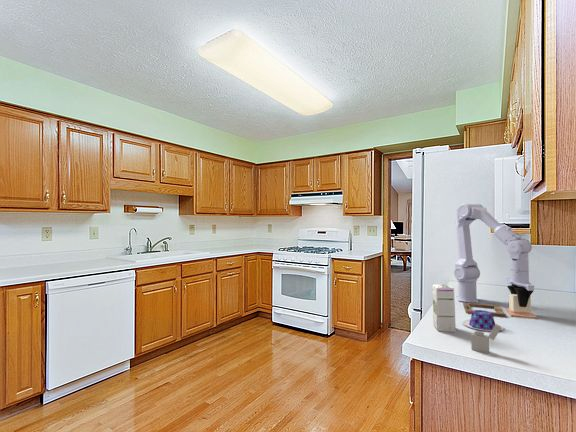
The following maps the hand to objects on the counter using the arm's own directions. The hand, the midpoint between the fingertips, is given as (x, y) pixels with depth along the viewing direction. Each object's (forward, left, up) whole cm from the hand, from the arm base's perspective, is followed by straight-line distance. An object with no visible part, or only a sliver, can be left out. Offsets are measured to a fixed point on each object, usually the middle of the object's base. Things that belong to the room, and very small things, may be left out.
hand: (520, 305), depth 122 cm
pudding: (+22, -15, -4) cm, 27 cm away
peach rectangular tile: (0, 0, -3) cm, 3 cm away
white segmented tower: (+30, -27, -3) cm, 41 cm away
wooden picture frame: (0, -12, -3) cm, 13 cm away
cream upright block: (0, 0, -2) cm, 2 cm away
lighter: (+46, -17, -3) cm, 49 cm away
